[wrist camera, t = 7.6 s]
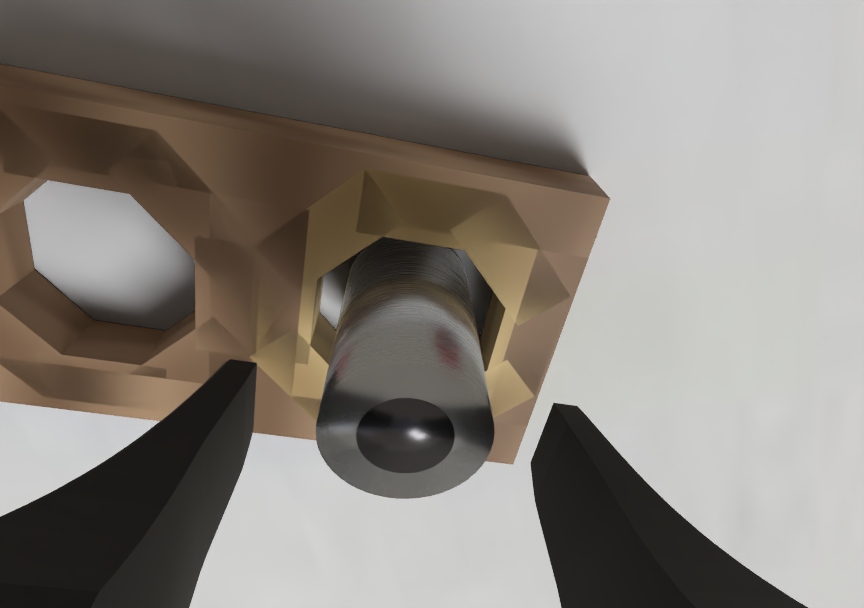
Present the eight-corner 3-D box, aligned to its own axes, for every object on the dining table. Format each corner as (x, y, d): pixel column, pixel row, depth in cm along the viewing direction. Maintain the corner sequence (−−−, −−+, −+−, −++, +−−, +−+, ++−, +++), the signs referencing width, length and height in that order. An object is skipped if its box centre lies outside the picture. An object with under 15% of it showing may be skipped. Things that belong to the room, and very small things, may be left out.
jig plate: (-8, 358, 20) (-49, 395, 18) (-78, 49, 15) (-143, 58, 13) (505, 425, 22) (513, 464, 20) (590, 176, 17) (610, 198, 15)
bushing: (345, 334, 20) (314, 495, 14) (349, 226, 18) (316, 358, 12) (459, 343, 20) (480, 504, 14) (476, 238, 18) (509, 372, 12)
